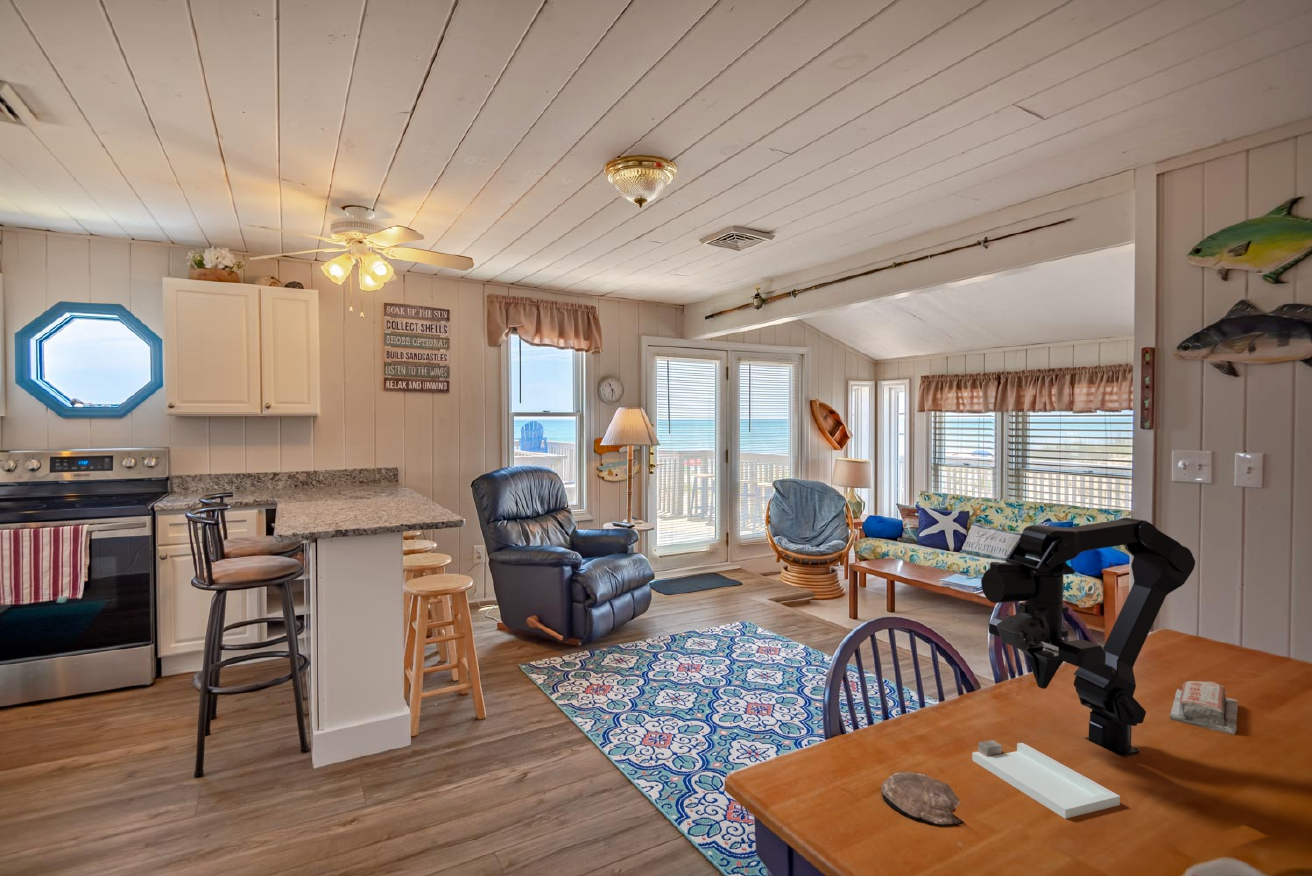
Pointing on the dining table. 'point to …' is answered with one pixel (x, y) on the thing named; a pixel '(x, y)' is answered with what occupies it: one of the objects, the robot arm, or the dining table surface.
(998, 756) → the open box
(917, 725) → the dining table surface
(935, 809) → the shell
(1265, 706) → the dining table surface
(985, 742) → the cover plate
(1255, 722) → the dining table surface
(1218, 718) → the packaged product
